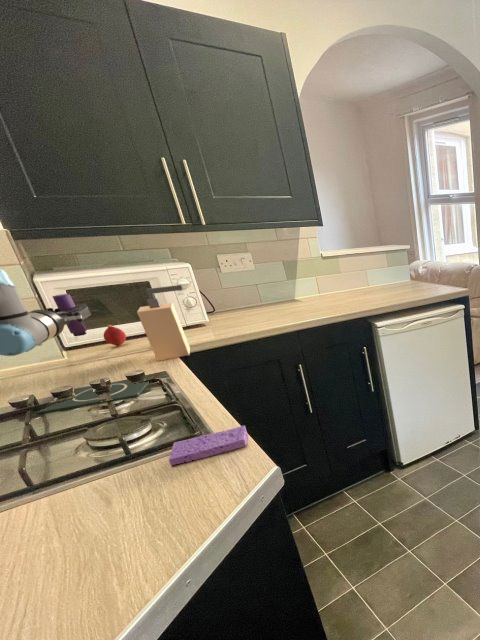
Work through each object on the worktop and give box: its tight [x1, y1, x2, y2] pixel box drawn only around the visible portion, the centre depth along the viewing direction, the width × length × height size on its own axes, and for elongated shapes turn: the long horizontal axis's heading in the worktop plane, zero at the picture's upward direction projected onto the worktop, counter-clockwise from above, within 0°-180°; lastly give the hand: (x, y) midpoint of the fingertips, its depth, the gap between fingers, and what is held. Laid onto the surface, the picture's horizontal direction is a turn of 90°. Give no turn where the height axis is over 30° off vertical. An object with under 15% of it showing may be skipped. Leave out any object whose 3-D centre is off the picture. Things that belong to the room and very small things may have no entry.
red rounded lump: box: [103, 324, 127, 347], centre depth 151 cm, size 6×6×8 cm
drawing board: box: [36, 375, 155, 415], centre depth 112 cm, size 20×15×1 cm
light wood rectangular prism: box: [136, 284, 191, 362], centre depth 137 cm, size 13×9×22 cm
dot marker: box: [52, 293, 87, 337], centre depth 124 cm, size 4×4×12 cm
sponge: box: [168, 425, 248, 466], centre depth 83 cm, size 7×13×2 cm, turn 119°
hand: (77, 308), depth 128 cm, fingers closed on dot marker, 4 cm apart
